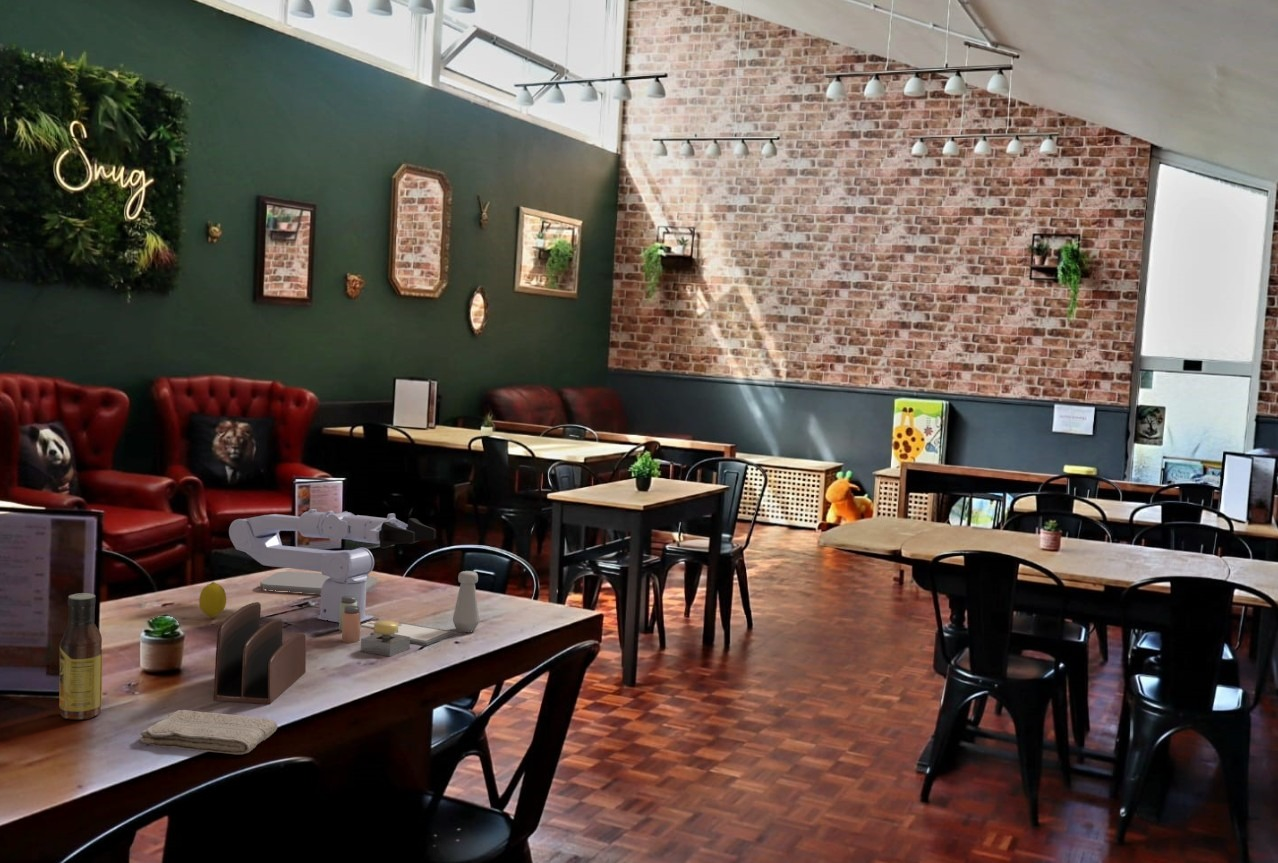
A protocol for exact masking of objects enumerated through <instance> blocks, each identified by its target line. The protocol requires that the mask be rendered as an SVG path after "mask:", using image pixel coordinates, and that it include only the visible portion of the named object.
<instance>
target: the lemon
mask: <svg viewBox="0 0 1278 863" xmlns="http://www.w3.org/2000/svg"><path fill="white" fill-rule="evenodd" d="M198 601H199V607H200V608H199V609H200V611H202V612H203V614H205V615H206V616H208V617H209V619H214V618H216V617H217V616H218V615H220V614H221V613H222V612H224V610H225V608H226V605H227V592H226V590H225V589H224V588H223V586H222V585H220V584H218V583H216V582H210V583H209V584H207V585H205V586H204V587H203V588H202V589H201V591H200V594H199V600H198Z"/></svg>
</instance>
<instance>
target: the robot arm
mask: <svg viewBox="0 0 1278 863" xmlns="http://www.w3.org/2000/svg"><path fill="white" fill-rule="evenodd" d="M307 510H308V511H305V512H303V513H302V514H301V515H300V516H298V515H297V516H295V515H288V514H287V515H286V514H278V513H274V514H263V515H260V516H259V515H258V516H253V517H248V518H247V517H246V518H238V519H235V520H233V521H232V522H231V523H230V526H229V528H228V535H229V538H230V541H231V542H232V544H233V546H234V548H235V550H237V551H240V552H244V553H246V554H247V555H248V556H249V557H251V558H252V559H254V561H256V562H257V563H259V564H260V565H262V566H267V567H273V568H275V567H276V568H282V569H283V568H285V569H293V570H301V571H302V570H303V571H311V572H316V573H319V572H320V573H321V574H322V575H326V576H329V577H331V578H328V579H327V580H326V581H325V582H324V583H323V586H322V589H321V595H320V608H319V615H318V616H317V619H318V620H323V621H327V620H328V621H329V622H335V623H339V616H340V601H342V597H343V596H354V597H356V601H357V606H358V607H359V611H360V612H361V617H360V623H362V622H365V621H368V620H372V619H374V615H372V614H371V615H370V614H366V602H367V593H366V580H367V579H368V577H369V574H370V573H371V572H372V571H373V569H374V568H375V567H374V566H375V558H374V556H373V554H372V552H371V551H370V550H369V549H368V548H366V547H357V548H355V549H352V550H351V549H350V550H349V549H347V550H345V549H344V550H343V549H342V550H329V549H320V548H310V547H299V546H288V545H283V543H282V540H281V538H280V537H281V536H280V533H281V531H282V532H283V531H284V532H285V531H286V532H288V531H289V532H292V531H293V532H297V531H298V532H299V534H300V535H301V536H302V537H304V538H305V537H306V538H318V539H319V538H321V539H329V540H330V542H335V541H338V540H351V541H353V542H362V543H370V544H375V545H376V544H377V545H379V547H380V548H381V549H387V548H389V547H393V546H396V545H403V544H406V545H407V544H408V545H410V544H415V543H417V542H420V541H431V540H435V539H437V538H436V537H437V530H436V528H433V527H430V526H427V525H425V524H424V523H422V522H420V521H419V520H418V519H417V518H413V517H410V518H408V519H407V523H405V522H404V521H401V520H399V519H397V518H396V513H394V512H393V513H388V514H387V516H386V517H377V516H369V515H359V514H357V515H355V514H354V513H352V512H350V511H349V512H348V511H347V510H345V511H342V512H339V513H338V512H337V513H335V512H334V510H326V512H324V511H323V512H320V511H317V508H316V509H315V508H311V509H307Z"/></svg>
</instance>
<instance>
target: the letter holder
mask: <svg viewBox="0 0 1278 863" xmlns="http://www.w3.org/2000/svg"><path fill="white" fill-rule="evenodd" d="M261 612H262V606H261V603H260V602H258V601H257V602H251V603H249V604H246V605H244V606H242V607H241V608H238V610H236V611H235V612H234V613H232V614H231V615H229V616H228V617H227V618H225V620H224V621H223V622H222V623H221V624H220V625H219V627H218V629H217V633H216V645H215V646H216V647H215V648H216V649H215V665H214V679H213V680H214V682H213V683H214V686H213V698H212V699H213V701H214V702H225V703H226V702H229V703H240V704H241V703H242V704H243V703H244V704H258V705H271V703H273V702H274V701H275V700H277V698H278V697H279V696H281V695H282V694H283V693H284V692H286V690H287V689H289V687H291V686H292V685H293V684H294V683H295V682H296V681H297V680H298V679H300V678H301V677H302V676H303V675H305V673H306V672H307V668H306V666H307V665H306V663H307V662H306V661H307V655H306V654H307V652H306V651H307V650H306V649H307V648H306V647H307V644H306V643H307V642H306V641H307V638H306V633H305V632H299V633H298V634H294V635H293V636H292V637H290V638H288V639H287V640H286V641H285V642H283V634H284V632H283V631H284V621H283V619H282V618H278V619H273V620H270V621H269V622H267V623H266V624H264V625H262V626H261V614H262V613H261ZM260 626H261V627H260Z"/></svg>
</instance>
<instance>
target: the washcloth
mask: <svg viewBox="0 0 1278 863" xmlns="http://www.w3.org/2000/svg"><path fill="white" fill-rule="evenodd" d="M277 730H278V724H277V722H276V721H274V720H273V719H269V718H264V717H263V718H260V717H250V716H249V717H248V716H245V715H240V714H239V715H238V714H228V713H218V712H208V711H205V712H204V711H196V710H187V709H180V710H179V709H178V710H176V711H174V712H170V713H169V714H168V715H167V717H166V718H164V719H163V720H160V721H157V722H156V723H155V724H153V725H150V726H149V727H147V728H146V729H145V730H142V731H140V735H141V737H140V738H139V742H140V743H143V744H146V745H150V746H153V747H154V746H156V747H161V748H171V749H178V750H179V749H180V750H181V749H182V750H188V751H189V750H190V751H199V752H211V753H221V754H231V755H239V756H240V755H245V754H248V753H250V752H251V751H253V749H255V748H256V747H257V745H259V744H261V742H264V741H266V740H267V739H268V738H270V737H271V736H272V735H273V734H274V733H275V732H276V731H277Z"/></svg>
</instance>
